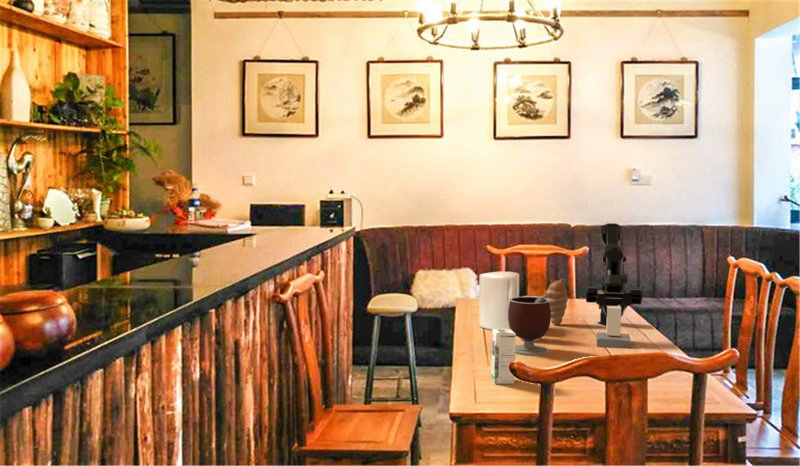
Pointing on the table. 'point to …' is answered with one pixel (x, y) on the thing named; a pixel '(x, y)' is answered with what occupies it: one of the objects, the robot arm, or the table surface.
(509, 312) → the mate gourd
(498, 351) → the syrup box
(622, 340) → the plate
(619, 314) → the block
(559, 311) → the spiral seashell
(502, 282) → the paper towel roll
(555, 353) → the table surface
